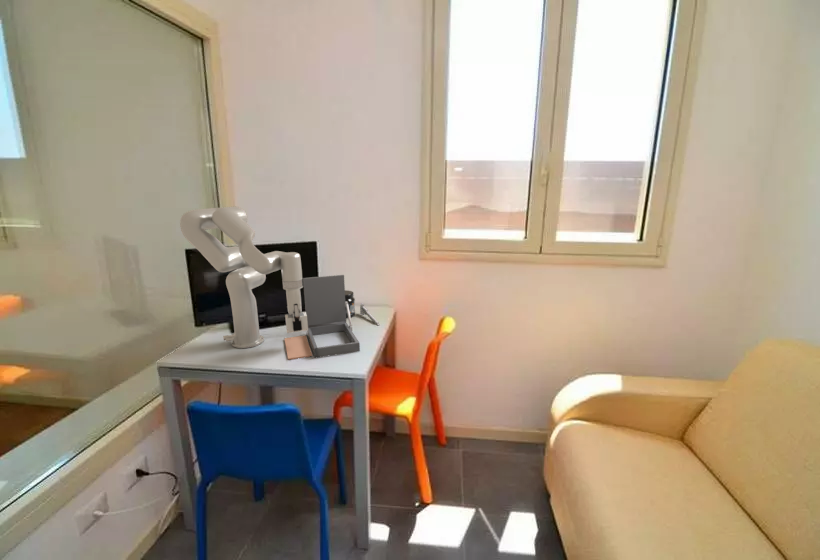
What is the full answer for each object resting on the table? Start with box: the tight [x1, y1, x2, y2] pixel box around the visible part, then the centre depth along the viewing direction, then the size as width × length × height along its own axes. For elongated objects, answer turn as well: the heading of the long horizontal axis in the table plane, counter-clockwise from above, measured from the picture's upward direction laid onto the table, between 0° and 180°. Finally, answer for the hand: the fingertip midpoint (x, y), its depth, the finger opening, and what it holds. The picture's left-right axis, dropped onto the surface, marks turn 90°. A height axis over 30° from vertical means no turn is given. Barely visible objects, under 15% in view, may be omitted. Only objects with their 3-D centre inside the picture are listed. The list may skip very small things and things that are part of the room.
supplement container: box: [345, 289, 356, 319], centre depth 200 cm, size 10×10×12 cm
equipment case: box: [302, 274, 361, 359], centre depth 165 cm, size 19×26×26 cm
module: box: [284, 311, 308, 334], centre depth 160 cm, size 8×5×6 cm, turn 110°
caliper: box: [359, 302, 381, 327], centre depth 195 cm, size 20×1×6 cm, turn 31°
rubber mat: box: [283, 334, 313, 361], centre depth 162 cm, size 9×22×1 cm, turn 20°
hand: (297, 327), depth 160 cm, fingers closed on module, 5 cm apart
